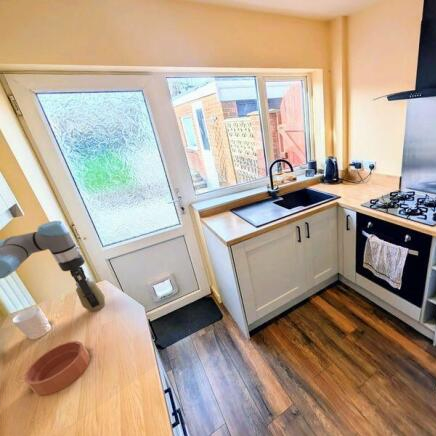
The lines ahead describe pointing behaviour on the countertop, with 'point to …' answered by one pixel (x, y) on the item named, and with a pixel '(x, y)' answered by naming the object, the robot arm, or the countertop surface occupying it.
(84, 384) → the countertop surface
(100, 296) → the squeeze bottle
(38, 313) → the white cup
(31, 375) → the bowl
